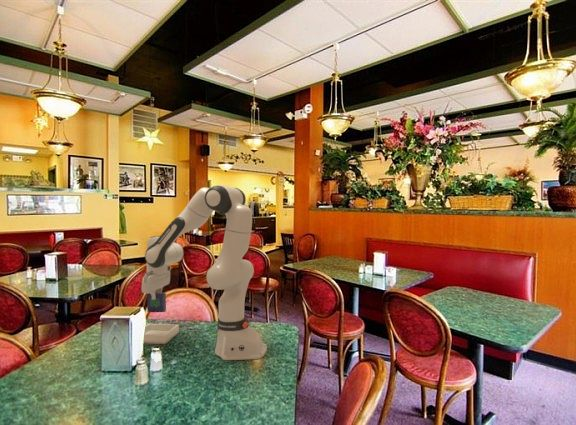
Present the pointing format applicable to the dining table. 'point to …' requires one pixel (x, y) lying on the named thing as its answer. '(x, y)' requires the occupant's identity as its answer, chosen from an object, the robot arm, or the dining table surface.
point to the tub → (160, 333)
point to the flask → (156, 302)
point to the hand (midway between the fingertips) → (156, 298)
